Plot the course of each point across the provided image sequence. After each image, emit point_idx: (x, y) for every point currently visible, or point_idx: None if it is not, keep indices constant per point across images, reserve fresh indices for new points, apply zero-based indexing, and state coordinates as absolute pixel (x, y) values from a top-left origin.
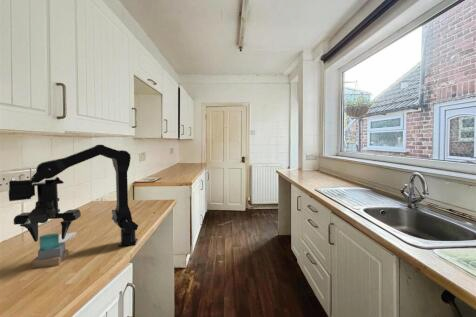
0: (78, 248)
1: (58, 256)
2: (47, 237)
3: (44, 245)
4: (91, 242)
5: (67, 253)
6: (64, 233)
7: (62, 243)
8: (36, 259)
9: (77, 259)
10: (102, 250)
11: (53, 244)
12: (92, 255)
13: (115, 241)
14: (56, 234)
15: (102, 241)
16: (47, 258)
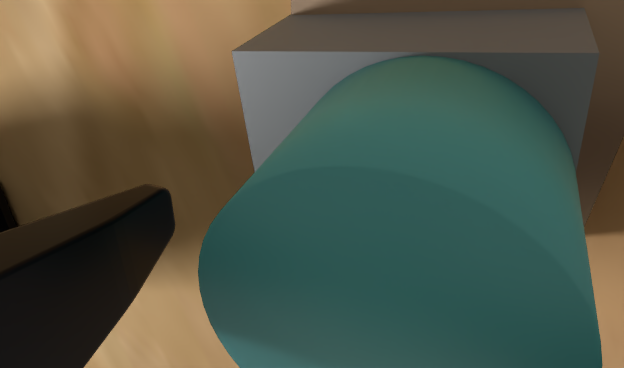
0: None
1: (311, 17)
2: (375, 260)
3: (457, 99)
4: (234, 363)
5: None
6: (14, 229)
7: None
8: (615, 33)
9: (195, 45)
10: (80, 167)
11: (306, 117)
12: (105, 89)
13: None
14: (256, 354)
15: (165, 339)
16: (448, 7)
